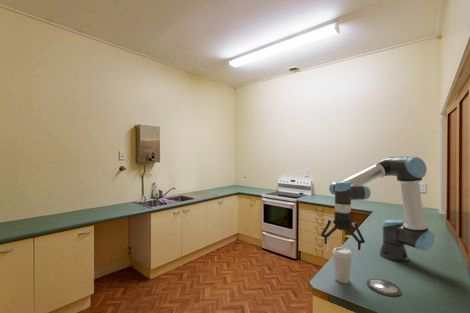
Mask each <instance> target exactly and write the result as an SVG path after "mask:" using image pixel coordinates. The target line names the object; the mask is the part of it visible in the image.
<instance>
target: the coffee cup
mask: <svg viewBox="0 0 470 313" xmlns="http://www.w3.org/2000/svg"><path fill="white" fill-rule="evenodd" d="M331 253H332V255H333V268H334V278H335V281H337V282H339V283H342V284H343V283H344V284H348V283H349V282H350V276H351V267H352V266H351V265H352V258H353V257H354V255H353V253H352V251H351V250H350V249H348V248H345V247H340V246H339V247H338V246H337V247H334V248H333V250H332V252H331Z"/></svg>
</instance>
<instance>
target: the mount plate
mask: <svg viewBox="0 0 470 313" xmlns="http://www.w3.org/2000/svg"><path fill="white" fill-rule="evenodd" d="M366 286H367V287H368V288H369V289H370V290H372V291H374V292H375V293H377V294H381V295H383V296H386V297H387V296H388V297H398V296H400V295H401V294H402V290H401V288H400V287H399V286H398V285H397V284H394V283H392V282H391V281H387V280H385V279H380V278H370V279H367V280H366Z"/></svg>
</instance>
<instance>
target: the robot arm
mask: <svg viewBox="0 0 470 313" xmlns="http://www.w3.org/2000/svg"><path fill="white" fill-rule="evenodd" d="M426 174H427V165H426V163H425V161H424V160H423V159H422V158H420V157H418V156H391V157H390V156H389V157H386V158H383V159H381V160H379V161H376V162H374V163H372V164H371V165H370V167H368V168H365V169H363V170H362V171H360V172H357V173H356V174H353V175H352V176H349V177H347V178H346V179H344V180H341V181H336V182H331V183H330V184H329V187H328V189H329V193H330V194H332V195H334V219H331V218H328V219H327V223H326V226H325V227H324V229H323V231H322V232H321V235H320V237H323V238H324V245H326V252H329V242H330V241H329V240H330V239H329V237H330V236H331V235H332V234H333V233H334V232H335V231H336V230H338V231H344V232H345V231H348V232H349V234H350V235H351V236H352V237H353V239H354V240H355V241H356V242H355V256H356V258H358V257H359V251H360V250H361V246H362V244H365V243H366V241H365V238H364V237H363V235H362V233H361V230H360V229H359V225H358V222H357V221H356V222H352V221H351V220H352V219H351V218H352V217H351V216H352V213H351V212H352V201H364V200H368V199H369V198H370V197H371V189H370V187H369V186H367V185H366V184H368V183H370V182H372V181H374V180H377V179H378V178H384V177H391V176H393V177H396V180H397V181H398V182H399V183H400V187H401V195H402V197H401V198H402V204H403V212H404V220H405V221H404V220H399V219H398V220H397V219H385V220H383V223H382V244H381V246H380V248H379V255H380V256H381V257H383V258H385V259H387V260H391V261H395V262H407V261H409V255H408V251H407V249H406V246H407V247H411V248H414V249H416V250H420V251H424V252H425V251H428V250H430V249H431V248H433V245H434V244H435V238H436V236H435V234H434V232H432V231H430V230H429V226H428V225H427V224H426V223H425V220H424V213H423V212H424V211H423V202H422V196H421V187H420V185H421V184H420V182H422V180H423V178H424V177H425V176H426ZM332 224H334V226H333V227H332V228H331V229H330V230H329V231H328V229H329V227H331V226H330V225H332ZM351 226H352V227H353V228H354V229H355V231H356V233H357V234H355V232H354V231H353V230H352V229H351ZM327 231H328V232H327ZM358 236H359V237H358Z"/></svg>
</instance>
